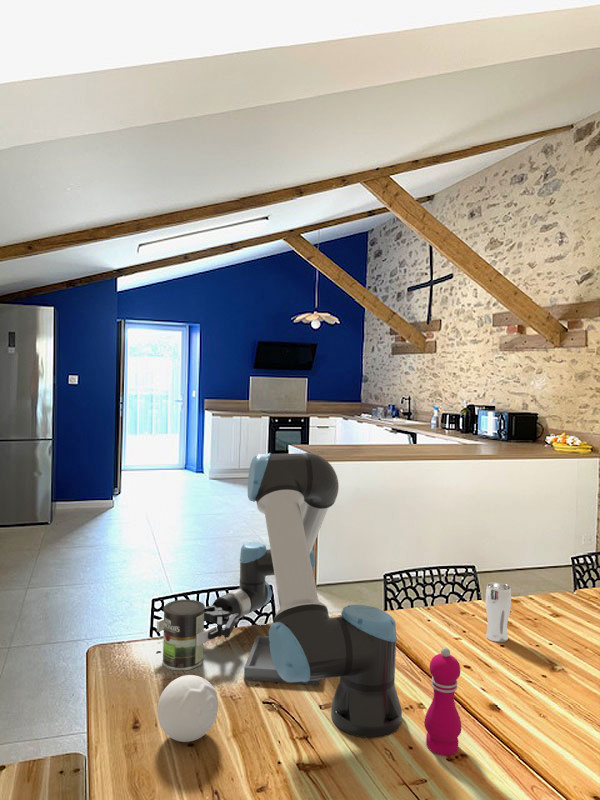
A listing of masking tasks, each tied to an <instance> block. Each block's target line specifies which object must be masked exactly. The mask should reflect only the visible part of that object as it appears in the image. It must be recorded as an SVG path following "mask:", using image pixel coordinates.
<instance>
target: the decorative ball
mask: <svg viewBox="0 0 600 800" xmlns="http://www.w3.org/2000/svg"><path fill="white" fill-rule="evenodd" d="M217 695H218V693H217V691H216V689H215V688H214V686H213V684H211V682H209V681H208V680H207V679H205V678H204V677H201V676H199V675H196V674H195V675H193V674H185V675H181V676H179V677H177V678H175V679H173V680H172V681H171V682H169V684H167V686H166V687H165V688H164V689H163V691H162V692H161V695H160V697H159V699H158V703H157V709H156V711H157V718H158V719H157V720H158V724H159V725H160V728H161V729H162V731H163V732H164V733H165V735H167V736H168V737H169V738H170V739H172V740H175V741H176V742H182V743H190V742H195V741H197V740H199V739H200V738H202V737H203V736H205V735H206V734H207V733H208V732H209V731H210V730H211V728H212V727H213V725H214V724H215V722H216V719H217V715H218V711H219V701H218V700H219V699H218V696H217Z"/></svg>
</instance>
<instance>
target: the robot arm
mask: <svg viewBox="0 0 600 800" xmlns="http://www.w3.org/2000/svg"><path fill="white" fill-rule="evenodd" d="M249 464H250V466H249V469H248V475H247V476H248V477H247V498H248V500H249V501H250V502H252V503H254V502H256V506H257V507H256V508H257V509H258V511H259V512H260V513H262V514H263V515H264V517H265V523H266V529H267V530H266V531H267V537H268V543H269V548H270V549H267V547H266V546H267V545H266V544H265V543H264V542H263V543H262V542H260V541H259V542H258V541H257V542H255V541H251V542H246V543H244V544H243V545H241V548H240V553H239V554H240V555H239V557H240V558H239V588H237V589H235V590H233V591H231V592H228V593H226V594H224V595H221V596H220V597H219V596H218V597H217V598H216V599H215V600H214V602H213V603H212V604H211V605H208V606H205V610H204V622H210V623H213V624H216V625H213V626H211V627H208V628H207V629H205V630H204V631H202V632H200V633H198V634H197V642H196V645H197V646H200V645H202V644H203V645H204V644H205V643H207V642H209V641H211V640H214V639H216V638H217V637H219V638H221V637H222V636H224V638H226V639H227V638H230V636H231V634H232V632H233V630H234V628H235V626H236V625H238V624H239V619H241V618H243V617H244V616H246V615H249V614H250V613H252V612H254V611H257V610H259V609H261V608H263V607H264V606H265V605H267V604H268V603H269V602H270V600H271V598H272V597H273V596H272V595H273V594H272V592H273V591H272V589H271V585H270V584H269V583H268V581H266V577H267V576H268V577H269V576H271V577H272V576H274V579H275V585H276V591H277V598H278V604H279V610H278V611H277V613H276V614H275V615H274V622H273V623H271V625H270V626H269V630H268V636H269V641H270V644H269V646H270V652H271V656H272V660H273V663H274V666H275V668H276V670H277V672H278V674H279V675H280V677H281V678H282V679H283V680H284V681H287V682H308V681H310V680H317V679H319V680H324V679H333V678H338V677H339V678H340V679H339V681H338V686H337V688H336V691H335V693H334V696H333V697H332V698H333V699H332V702H331V704H330V705H331V706H330V717H331V720H332V722H333V724H334V725H335V726H336V727H337V728H338V729H340V730H341V731H343V732H345V733H347V734H350V735H353V736H355V737H360V738H369V739H370V738H371V739H372V738H374V739H375V738H376V739H377V738H383V737H387V736H390V735H392V734H394V733H396V731H398V730H399V729H400V728H401V725H402V721H403V720H402V717H403V712H402V706H401V703H400V698H399V696H398V695H399V694H398V692H397V688H396V686H395V685H396V684H395V677H396V676H395V675H396V657H397V656H396V655H397V653H396V652H397V641H398V637H397V624H396V620H395V618H394V617H392V615H391V614H389V613H388V612H386V611H384V610H382V609H379V608H378V607H375V606H371V605H366V604H348V605H347V606H344V607H343V609H342V611H341V614H340V615H341V616H336V617H335V616H334V617H330V615H329V610H328V607H327V605H326V604H324V603H323V602H321V601H319V595H318V592H317V586H316V581H315V576H314V572H313V571H314V568H315V563H316V561H315V560H316V557H315V552H314V550H313V548H314V545H315V542H316V540H317V537H318V535H319V532H320V529H321V527H322V525H323V522H324V520H325V518H326V515H327V512H328V510H329V508H331V507H333V505H334V504H335V502H336V500H337V497H338V493H339V487H340V485H339V479H338V475H337V473H336V470H335V469H334V467H333V466H332V464H331V463H330V462H329V461H328V460H326V458H324V457H323V456H322V455H319V454H316V453H311V452H307V453H306V452H302V453H271V452H269V453H259V454H256V455H254V456H253V458H252V459H251V461H250V463H249ZM202 603H203V604H204V605H205V603H204V602H202ZM223 625H225V626H224V627H223ZM162 631H164V617H163V618H161V619H158V620H157V621H156V632H159V633H161V632H162Z"/></svg>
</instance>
